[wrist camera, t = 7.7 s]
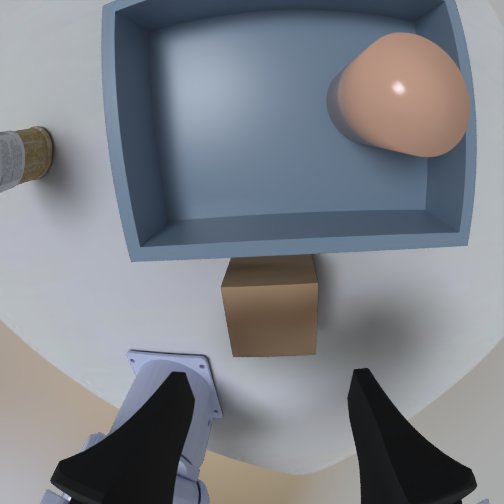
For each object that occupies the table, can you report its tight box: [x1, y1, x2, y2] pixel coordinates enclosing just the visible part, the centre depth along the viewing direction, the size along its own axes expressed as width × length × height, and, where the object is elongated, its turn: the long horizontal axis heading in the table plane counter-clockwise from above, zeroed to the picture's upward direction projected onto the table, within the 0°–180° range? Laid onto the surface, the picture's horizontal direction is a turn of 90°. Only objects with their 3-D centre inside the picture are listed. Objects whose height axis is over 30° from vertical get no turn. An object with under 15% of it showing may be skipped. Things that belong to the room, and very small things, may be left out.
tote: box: [101, 0, 477, 262], centre depth 13 cm, size 15×19×5 cm
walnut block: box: [221, 254, 318, 357], centre depth 18 cm, size 5×5×5 cm
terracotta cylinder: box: [326, 32, 470, 157], centre depth 11 cm, size 5×5×7 cm
